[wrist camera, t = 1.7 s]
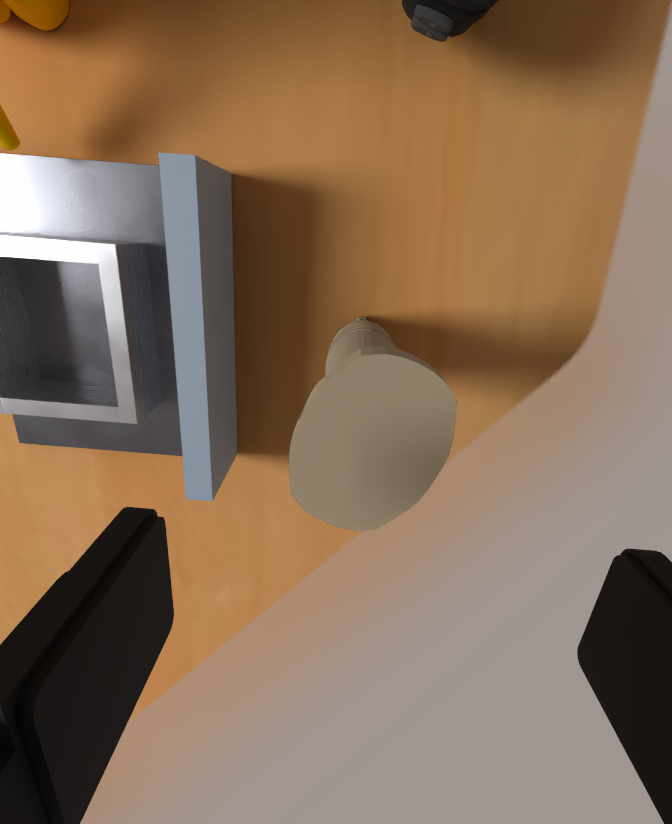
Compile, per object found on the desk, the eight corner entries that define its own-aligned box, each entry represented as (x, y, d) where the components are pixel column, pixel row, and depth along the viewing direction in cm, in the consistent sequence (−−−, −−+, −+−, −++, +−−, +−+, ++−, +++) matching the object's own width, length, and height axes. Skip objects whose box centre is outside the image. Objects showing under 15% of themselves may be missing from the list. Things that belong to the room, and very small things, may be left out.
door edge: (203, 171, 24) (158, 152, 18) (231, 173, 24) (194, 155, 18) (215, 451, 31) (186, 499, 25) (237, 453, 31) (212, 501, 25)
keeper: (-38, 152, 24) (-119, 135, 20) (173, 168, 24) (135, 155, 20) (29, 436, 31) (-21, 468, 27) (192, 449, 31) (167, 483, 27)
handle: (418, 311, 27) (489, 396, 13) (371, 398, 29) (389, 548, 15) (348, 277, 26) (344, 328, 12) (306, 368, 28) (264, 497, 14)
